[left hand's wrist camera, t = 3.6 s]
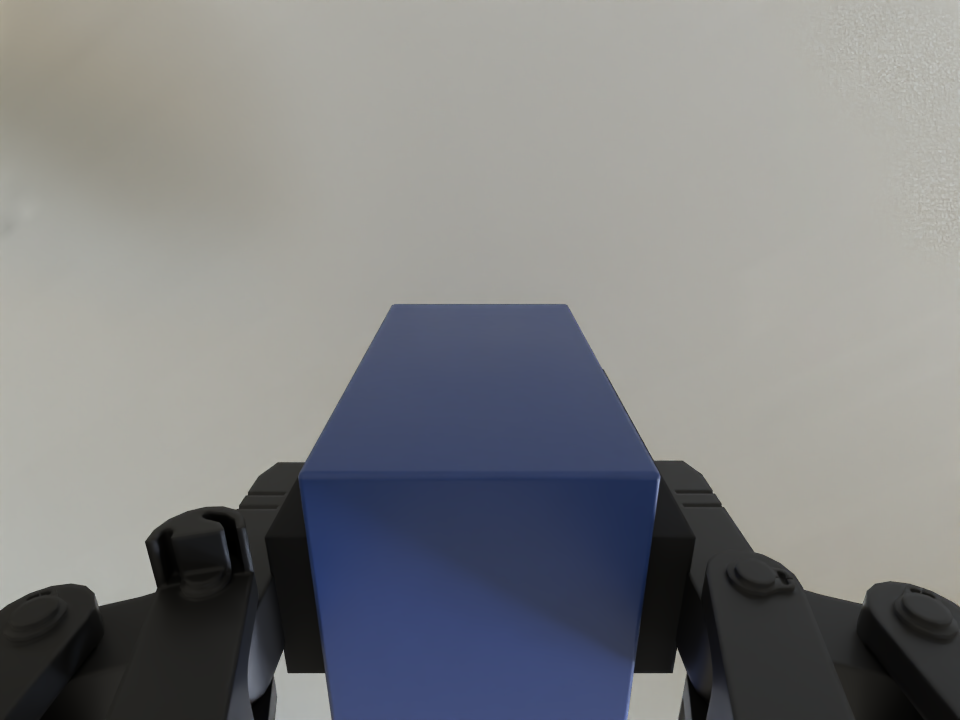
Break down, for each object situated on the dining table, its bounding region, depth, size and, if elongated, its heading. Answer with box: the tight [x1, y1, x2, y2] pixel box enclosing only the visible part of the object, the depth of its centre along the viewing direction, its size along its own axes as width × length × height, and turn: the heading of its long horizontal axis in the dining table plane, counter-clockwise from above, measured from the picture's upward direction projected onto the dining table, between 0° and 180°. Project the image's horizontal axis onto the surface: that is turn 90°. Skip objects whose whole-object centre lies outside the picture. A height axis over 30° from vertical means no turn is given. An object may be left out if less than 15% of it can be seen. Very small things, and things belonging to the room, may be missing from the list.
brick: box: [298, 304, 660, 720], centre depth 12 cm, size 5×5×8 cm
